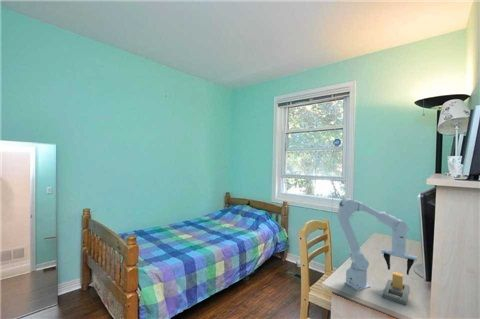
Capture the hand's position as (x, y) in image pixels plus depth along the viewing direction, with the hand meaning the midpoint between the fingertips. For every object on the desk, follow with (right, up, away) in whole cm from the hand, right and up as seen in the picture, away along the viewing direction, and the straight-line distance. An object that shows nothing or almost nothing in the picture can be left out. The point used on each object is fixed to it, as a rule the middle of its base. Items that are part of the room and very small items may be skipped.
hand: (398, 271), depth 115 cm
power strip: (-3, -9, -3) cm, 10 cm away
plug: (0, -9, 0) cm, 9 cm away
